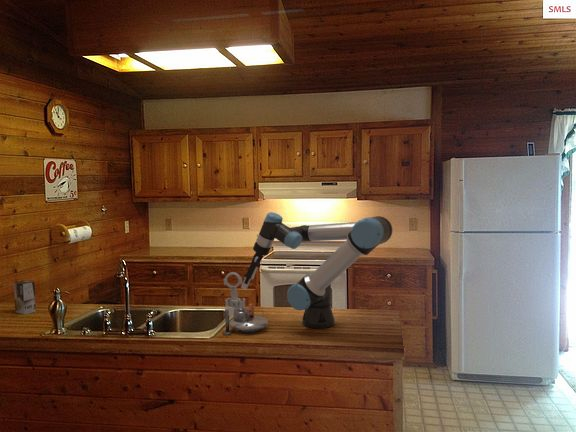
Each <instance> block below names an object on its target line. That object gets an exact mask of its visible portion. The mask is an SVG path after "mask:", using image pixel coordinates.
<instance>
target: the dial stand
mask: <svg viewBox="0 0 576 432" xmlns="http://www.w3.org/2000/svg"><path fill="white" fill-rule="evenodd" d="M224 308H225V309H224V310H225V312H224V313H225V314H224V316H225V320H224V321H225V331H222V336H230V335H233V331H232V330H230V317H231V316H234V308H233V307H231V306H229V307H226V306H225V307H224Z"/></svg>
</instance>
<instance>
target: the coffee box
mask: <svg viewBox="0 0 576 432" xmlns="http://www.w3.org/2000/svg"><path fill="white" fill-rule="evenodd" d="M35 285H36V284H35V281H30V280H20V281H16V282H13V292H14V295H13V296H14V308H15V313H17V314H20V315H29V314H33V313H36V312H37V310H36V309H37V306H36V287H35Z"/></svg>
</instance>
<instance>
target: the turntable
mask: <svg viewBox="0 0 576 432" xmlns="http://www.w3.org/2000/svg"><path fill="white" fill-rule="evenodd" d="M248 310H249V320H248V321H244V322H237V321H234V318H231V320H229V328H232V329H234V330H236V329H238V330H256V329H261V328H262V329H264V328H266V327H267V326H268V325H269V320H268V318H266V317H265V316H259V315H255V304H254V303H248Z"/></svg>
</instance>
